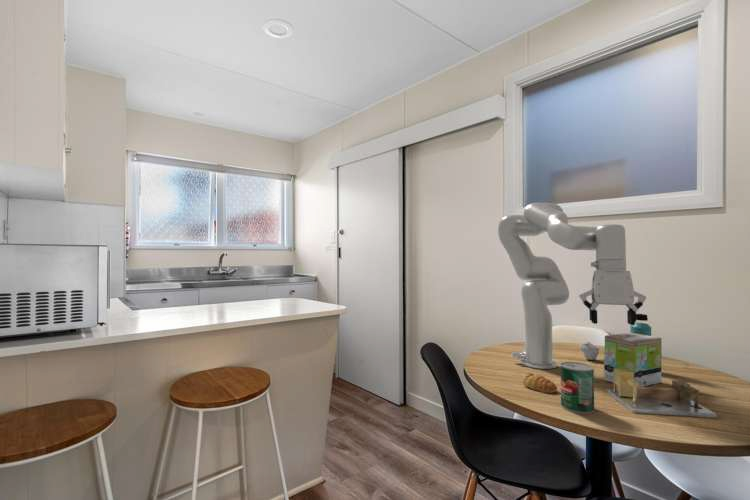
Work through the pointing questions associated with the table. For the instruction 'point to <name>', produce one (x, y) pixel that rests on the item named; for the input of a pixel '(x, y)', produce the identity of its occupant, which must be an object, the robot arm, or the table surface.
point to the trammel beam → (668, 392)
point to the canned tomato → (577, 387)
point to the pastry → (539, 383)
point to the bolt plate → (663, 406)
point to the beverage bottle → (641, 326)
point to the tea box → (633, 357)
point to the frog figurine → (589, 350)
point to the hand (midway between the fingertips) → (612, 323)
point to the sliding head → (625, 383)
